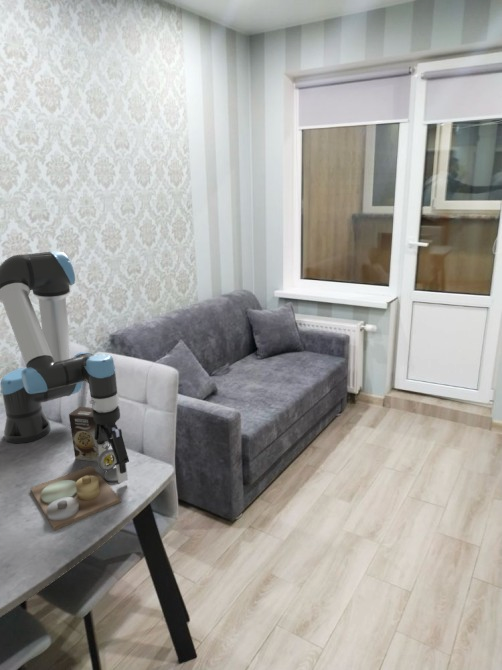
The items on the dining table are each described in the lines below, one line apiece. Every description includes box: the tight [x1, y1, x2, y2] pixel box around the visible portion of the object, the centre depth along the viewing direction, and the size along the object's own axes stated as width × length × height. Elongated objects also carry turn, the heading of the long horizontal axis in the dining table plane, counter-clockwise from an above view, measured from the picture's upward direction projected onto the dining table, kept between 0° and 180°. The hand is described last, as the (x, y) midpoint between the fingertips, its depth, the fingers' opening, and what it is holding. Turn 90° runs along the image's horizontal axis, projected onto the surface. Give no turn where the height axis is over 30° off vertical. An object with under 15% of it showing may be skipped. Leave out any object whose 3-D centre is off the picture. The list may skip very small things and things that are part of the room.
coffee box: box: [68, 406, 109, 463], centre depth 153 cm, size 9×6×16 cm
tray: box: [30, 465, 122, 531], centre depth 134 cm, size 22×18×6 cm
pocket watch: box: [97, 442, 118, 483], centre depth 143 cm, size 8×8×10 cm
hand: (113, 471), depth 144 cm, fingers open, 12 cm apart
